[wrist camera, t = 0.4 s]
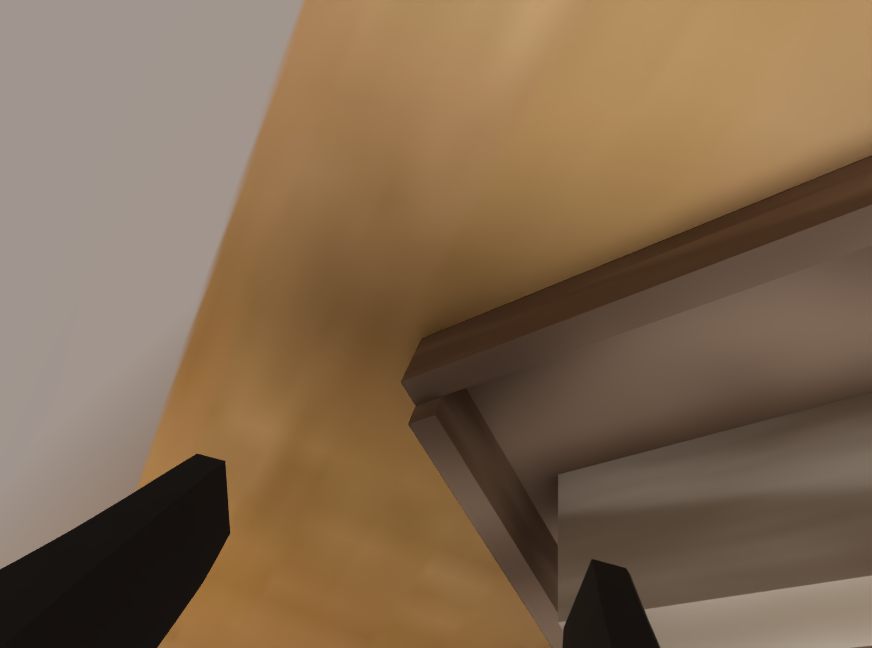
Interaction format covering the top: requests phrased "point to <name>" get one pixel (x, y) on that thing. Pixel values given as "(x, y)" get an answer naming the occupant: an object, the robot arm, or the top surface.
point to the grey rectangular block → (736, 532)
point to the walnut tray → (646, 362)
